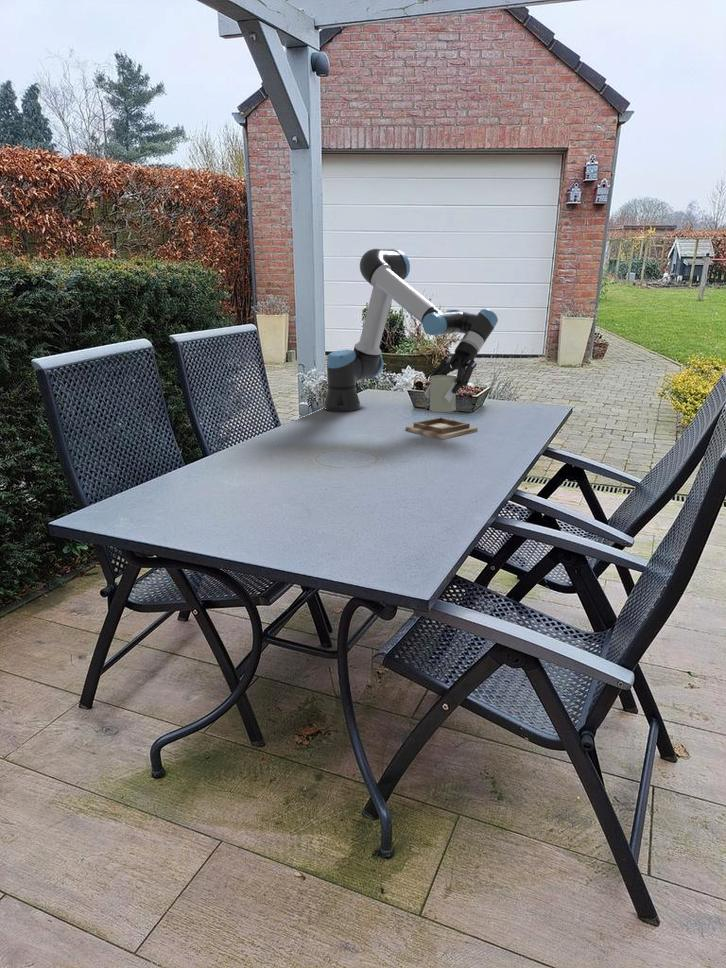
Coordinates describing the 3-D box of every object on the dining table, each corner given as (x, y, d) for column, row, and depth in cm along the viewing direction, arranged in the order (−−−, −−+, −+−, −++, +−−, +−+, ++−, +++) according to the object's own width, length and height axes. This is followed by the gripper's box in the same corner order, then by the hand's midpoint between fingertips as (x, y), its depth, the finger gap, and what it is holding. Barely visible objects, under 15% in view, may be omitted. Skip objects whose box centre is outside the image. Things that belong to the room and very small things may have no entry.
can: (424, 408, 227) (425, 374, 224) (446, 406, 231) (447, 372, 227) (438, 413, 220) (438, 378, 216) (460, 410, 223) (462, 376, 219)
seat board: (405, 430, 229) (405, 422, 228) (440, 422, 240) (440, 415, 239) (442, 439, 216) (442, 431, 215) (477, 431, 227) (477, 423, 226)
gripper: (497, 357, 221) (464, 408, 216) (451, 352, 237) (419, 400, 232) (488, 342, 216) (454, 395, 212) (441, 338, 232) (409, 387, 227)
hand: (436, 397), depth 222 cm, fingers closed on can, 9 cm apart
